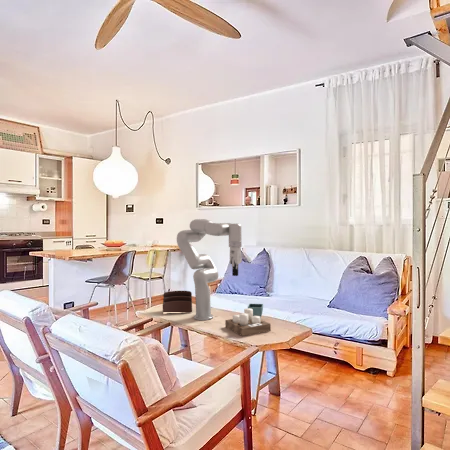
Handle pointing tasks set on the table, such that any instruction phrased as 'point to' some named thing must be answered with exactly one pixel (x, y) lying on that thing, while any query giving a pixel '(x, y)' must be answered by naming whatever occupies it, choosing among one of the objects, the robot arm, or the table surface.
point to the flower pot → (256, 309)
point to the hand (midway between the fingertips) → (235, 275)
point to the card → (255, 325)
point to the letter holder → (177, 301)
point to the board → (247, 327)
